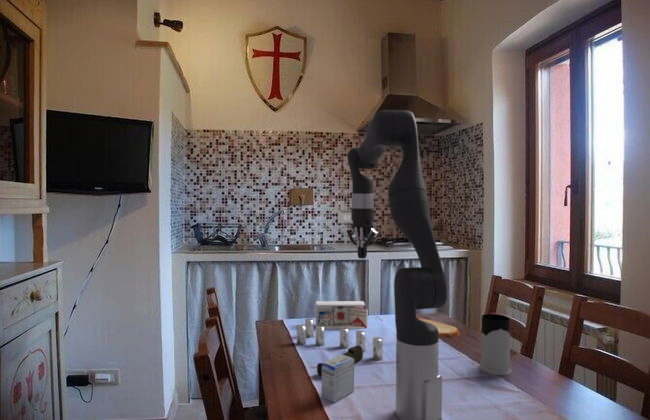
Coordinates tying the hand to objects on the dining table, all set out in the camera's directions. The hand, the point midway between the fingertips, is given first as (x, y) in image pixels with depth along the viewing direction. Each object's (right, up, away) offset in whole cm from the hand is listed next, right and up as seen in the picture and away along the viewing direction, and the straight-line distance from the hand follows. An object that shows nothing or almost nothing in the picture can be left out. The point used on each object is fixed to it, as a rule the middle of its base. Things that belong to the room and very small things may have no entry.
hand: (362, 258), depth 139 cm
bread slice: (+27, -30, +16) cm, 43 cm away
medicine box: (-9, -30, -37) cm, 49 cm away
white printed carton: (-6, -29, +20) cm, 36 cm away
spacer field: (-9, -29, -5) cm, 31 cm away
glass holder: (+37, -30, -18) cm, 51 cm away
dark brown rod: (-8, -30, -19) cm, 36 cm away
